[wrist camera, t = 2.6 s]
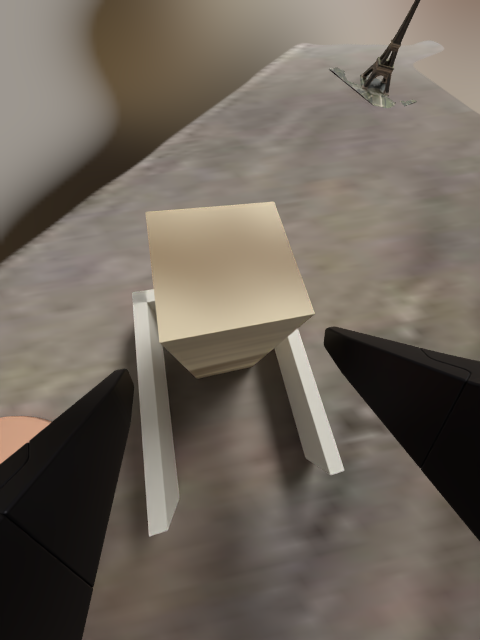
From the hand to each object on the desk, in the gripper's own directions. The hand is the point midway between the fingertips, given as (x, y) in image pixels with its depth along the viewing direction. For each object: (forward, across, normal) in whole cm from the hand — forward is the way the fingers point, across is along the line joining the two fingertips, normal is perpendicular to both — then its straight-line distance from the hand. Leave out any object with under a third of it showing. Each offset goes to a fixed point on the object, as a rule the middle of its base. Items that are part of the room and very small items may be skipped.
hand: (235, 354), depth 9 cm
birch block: (+9, 0, +5) cm, 10 cm away
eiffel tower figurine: (+40, -38, -25) cm, 61 cm away
